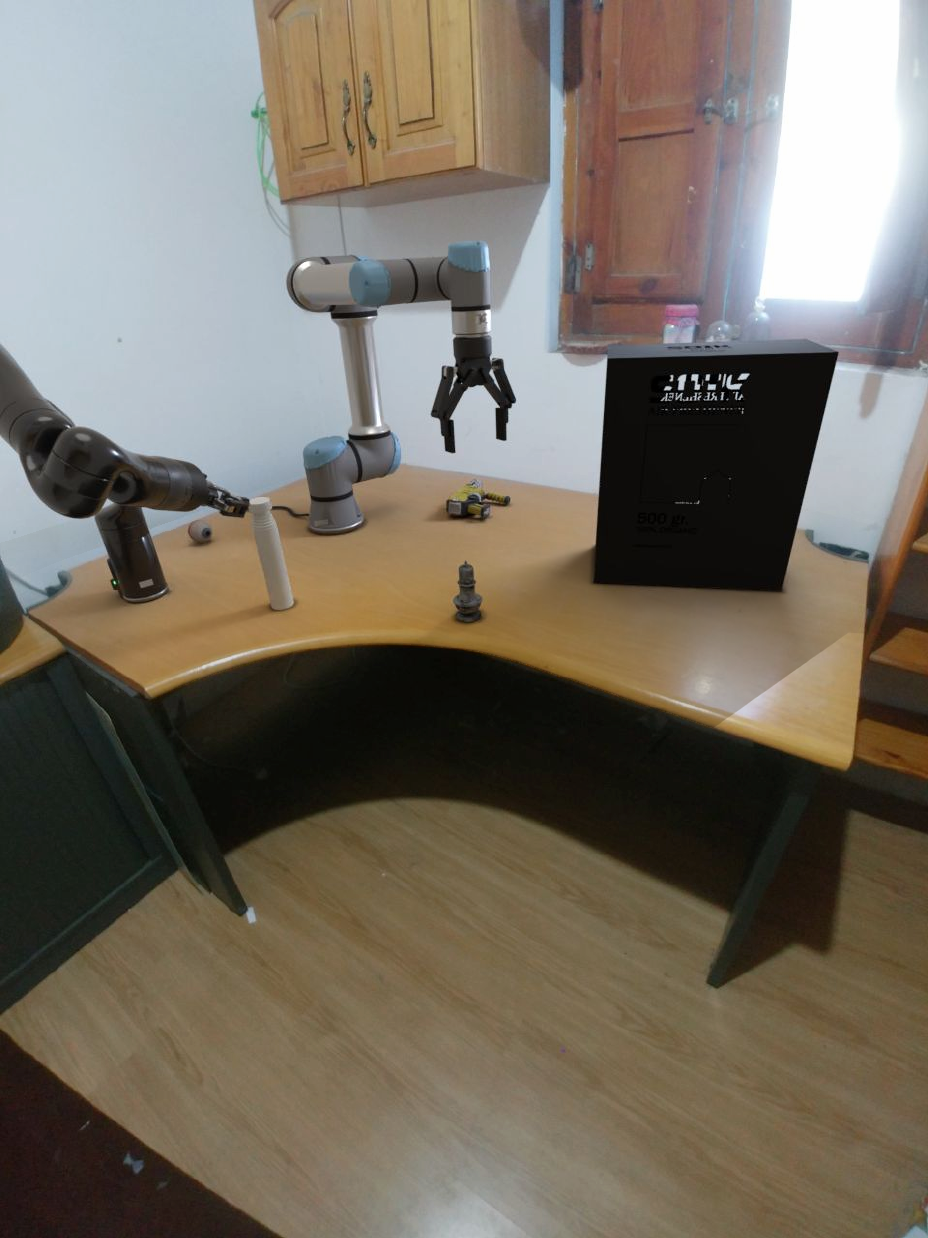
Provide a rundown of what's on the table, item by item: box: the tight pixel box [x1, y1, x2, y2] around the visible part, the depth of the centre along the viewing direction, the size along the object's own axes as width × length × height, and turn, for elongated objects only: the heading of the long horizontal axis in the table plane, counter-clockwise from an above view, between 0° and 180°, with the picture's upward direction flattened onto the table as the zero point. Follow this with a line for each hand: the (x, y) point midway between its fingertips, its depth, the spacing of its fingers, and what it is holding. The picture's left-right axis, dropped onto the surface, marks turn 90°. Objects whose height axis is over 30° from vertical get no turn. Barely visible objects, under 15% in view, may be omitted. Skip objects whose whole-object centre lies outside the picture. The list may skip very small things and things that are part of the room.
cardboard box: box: [593, 338, 840, 592], centre depth 124 cm, size 38×20×45 cm, turn 78°
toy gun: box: [445, 478, 511, 520], centre depth 176 cm, size 5×24×15 cm
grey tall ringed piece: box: [452, 560, 484, 623], centre depth 118 cm, size 6×6×12 cm
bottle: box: [251, 510, 295, 611], centre depth 124 cm, size 5×5×23 cm
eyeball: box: [187, 519, 213, 544], centre depth 162 cm, size 6×6×6 cm
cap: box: [248, 496, 273, 514], centre depth 118 cm, size 4×4×2 cm
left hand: (224, 492), depth 103 cm, fingers open, 8 cm apart
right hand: (476, 445), depth 127 cm, fingers open, 13 cm apart
